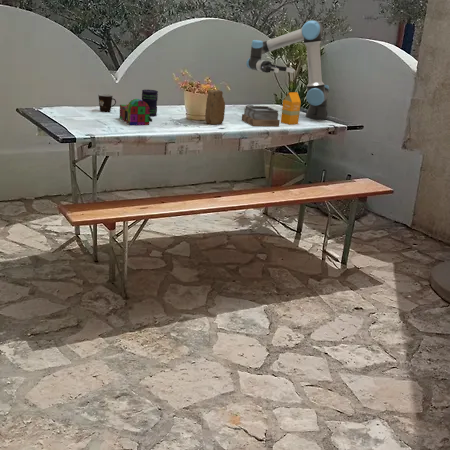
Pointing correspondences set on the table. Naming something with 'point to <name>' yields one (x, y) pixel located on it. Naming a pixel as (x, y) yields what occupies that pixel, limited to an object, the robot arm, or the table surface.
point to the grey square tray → (261, 116)
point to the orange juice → (291, 108)
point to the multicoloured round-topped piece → (135, 113)
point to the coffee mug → (105, 102)
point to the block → (215, 107)
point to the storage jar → (151, 100)
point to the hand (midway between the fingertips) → (285, 70)
